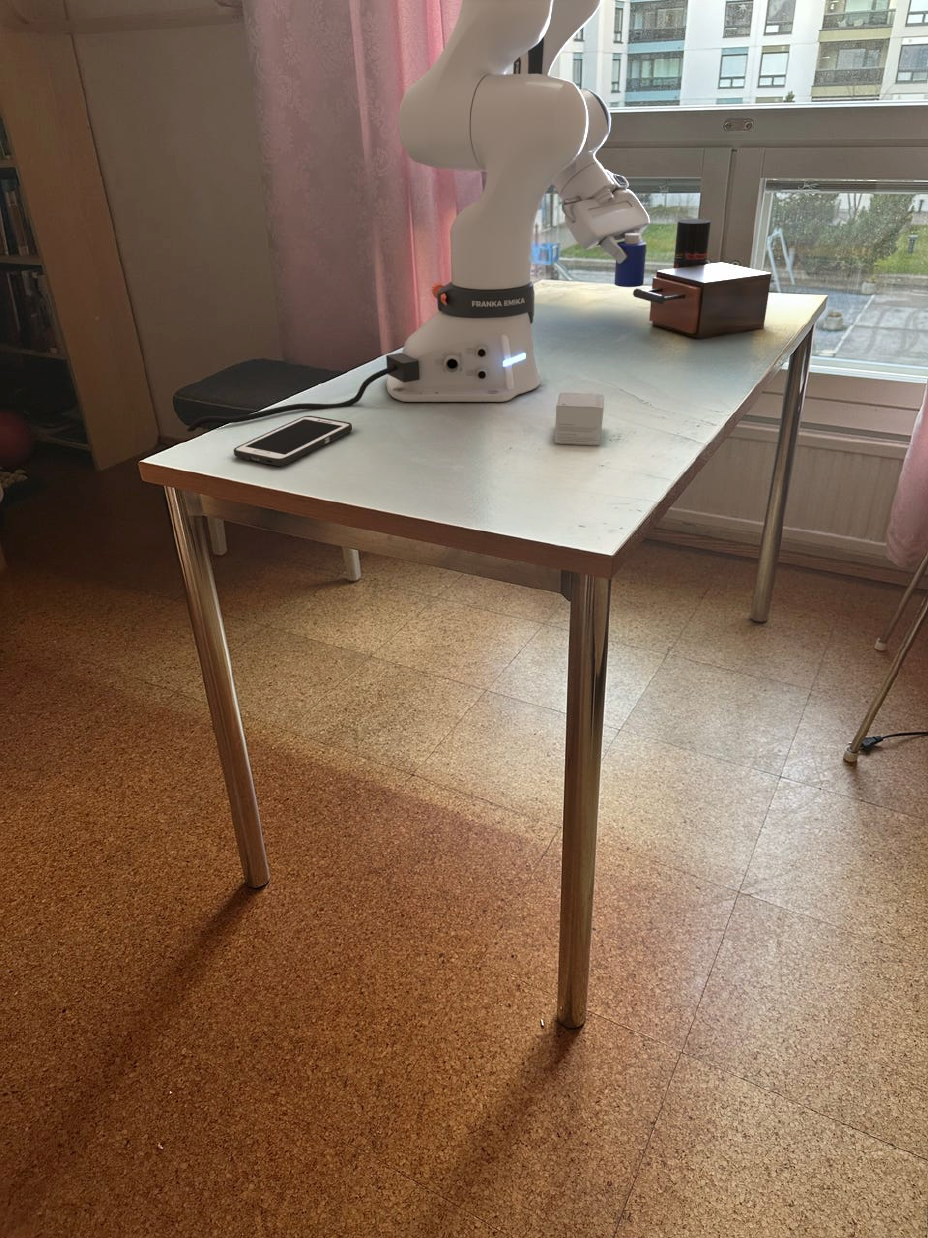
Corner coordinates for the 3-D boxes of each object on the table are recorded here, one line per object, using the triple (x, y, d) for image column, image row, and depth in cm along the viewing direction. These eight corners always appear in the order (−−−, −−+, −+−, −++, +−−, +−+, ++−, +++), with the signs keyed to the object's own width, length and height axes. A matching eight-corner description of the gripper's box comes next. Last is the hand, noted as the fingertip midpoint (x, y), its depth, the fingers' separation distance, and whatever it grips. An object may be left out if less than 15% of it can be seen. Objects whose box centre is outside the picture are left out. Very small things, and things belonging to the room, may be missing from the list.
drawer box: (698, 338, 154) (704, 282, 149) (652, 324, 163) (656, 270, 159) (763, 327, 159) (771, 273, 155) (715, 314, 169) (721, 262, 164)
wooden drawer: (663, 338, 151) (668, 292, 147) (622, 324, 160) (625, 280, 156) (752, 323, 158) (758, 279, 155) (708, 311, 167) (713, 269, 163)
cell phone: (231, 457, 109) (229, 449, 109) (307, 421, 120) (306, 414, 120) (281, 468, 106) (280, 460, 105) (355, 430, 117) (354, 422, 116)
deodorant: (704, 308, 173) (713, 222, 166) (672, 308, 173) (680, 223, 166) (698, 301, 178) (706, 218, 171) (667, 301, 179) (675, 219, 171)
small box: (600, 446, 110) (603, 406, 108) (553, 444, 111) (554, 405, 109) (602, 430, 115) (604, 392, 113) (557, 428, 116) (558, 390, 114)
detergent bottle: (618, 287, 163) (622, 236, 158) (611, 282, 167) (613, 232, 163) (647, 286, 163) (651, 235, 159) (638, 280, 168) (642, 231, 163)
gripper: (568, 187, 153) (615, 254, 153) (629, 176, 167) (672, 237, 167) (546, 214, 158) (591, 279, 158) (607, 201, 172) (649, 261, 171)
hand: (633, 257), depth 162 cm, fingers closed on detergent bottle, 5 cm apart
